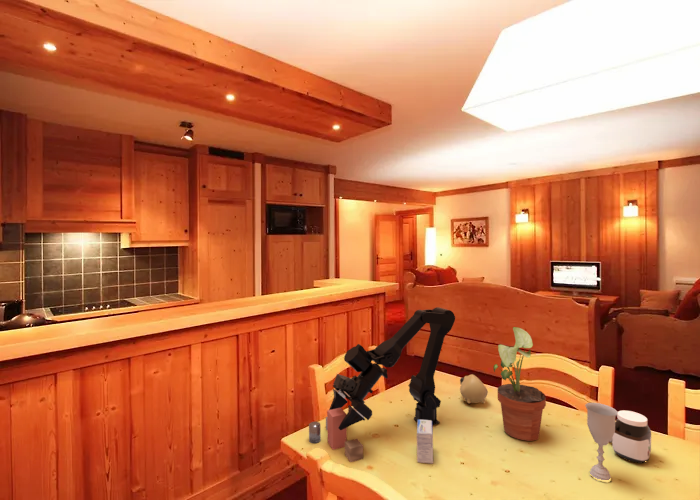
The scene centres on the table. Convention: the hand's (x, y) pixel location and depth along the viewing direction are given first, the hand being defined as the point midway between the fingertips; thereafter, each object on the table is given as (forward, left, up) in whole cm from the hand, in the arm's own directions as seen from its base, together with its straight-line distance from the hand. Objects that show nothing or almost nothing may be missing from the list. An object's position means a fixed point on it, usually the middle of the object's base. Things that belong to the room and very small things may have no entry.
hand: (333, 422), depth 111 cm
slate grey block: (-3, -8, -7) cm, 11 cm away
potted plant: (-56, +19, -7) cm, 60 cm away
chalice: (-58, +43, -7) cm, 73 cm away
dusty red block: (-1, 0, -7) cm, 7 cm away
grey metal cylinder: (+4, -5, -7) cm, 10 cm away
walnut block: (-3, +8, -7) cm, 11 cm away
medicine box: (-22, +16, -7) cm, 28 cm away
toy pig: (-59, -5, -7) cm, 60 cm away
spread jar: (-76, +39, -7) cm, 86 cm away
